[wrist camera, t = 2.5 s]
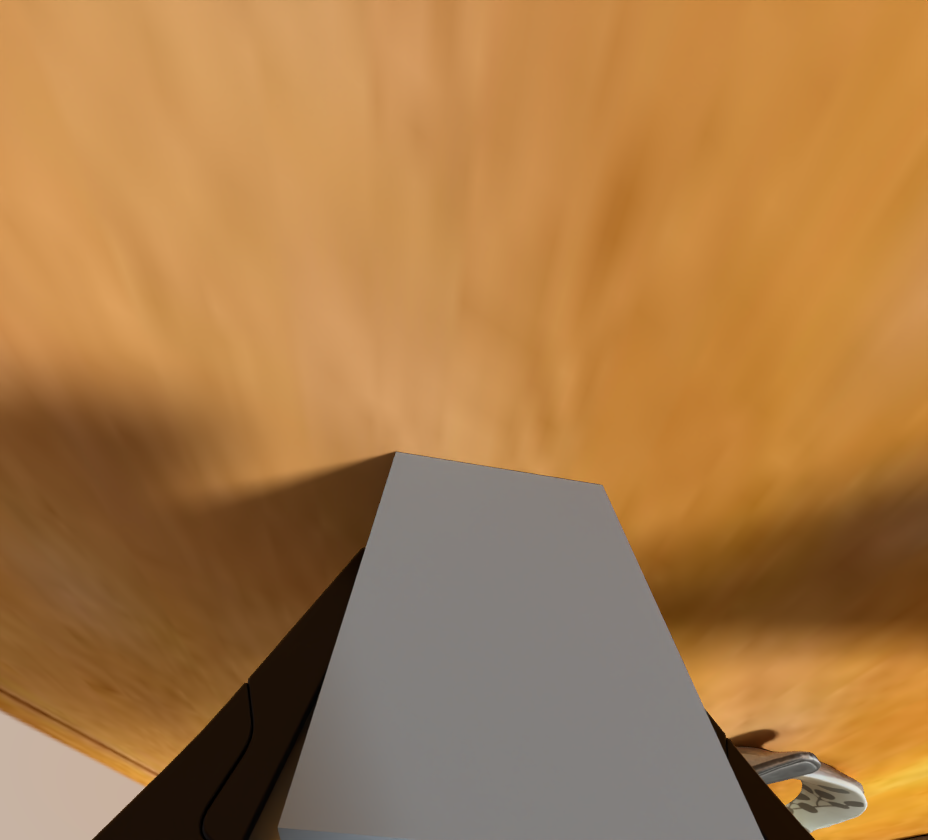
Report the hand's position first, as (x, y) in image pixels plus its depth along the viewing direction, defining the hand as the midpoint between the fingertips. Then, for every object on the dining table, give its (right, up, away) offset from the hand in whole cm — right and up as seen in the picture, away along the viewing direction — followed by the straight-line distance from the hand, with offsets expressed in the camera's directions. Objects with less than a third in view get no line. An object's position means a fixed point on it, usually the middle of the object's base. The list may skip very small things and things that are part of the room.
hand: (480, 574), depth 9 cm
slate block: (0, 0, +1) cm, 1 cm away
